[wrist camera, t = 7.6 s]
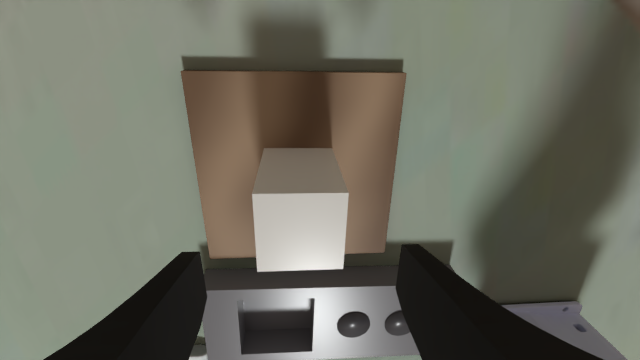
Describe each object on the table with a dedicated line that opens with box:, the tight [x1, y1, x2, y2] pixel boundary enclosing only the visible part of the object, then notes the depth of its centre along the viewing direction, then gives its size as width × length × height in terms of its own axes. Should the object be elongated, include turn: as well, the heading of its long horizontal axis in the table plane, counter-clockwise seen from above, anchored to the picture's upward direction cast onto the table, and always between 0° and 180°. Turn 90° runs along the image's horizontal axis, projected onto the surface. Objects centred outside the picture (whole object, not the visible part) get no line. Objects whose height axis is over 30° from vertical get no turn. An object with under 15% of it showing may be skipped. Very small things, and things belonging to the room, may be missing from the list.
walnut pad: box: [181, 70, 406, 259], centre depth 19 cm, size 12×12×1 cm
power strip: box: [202, 265, 455, 360], centre depth 23 cm, size 18×7×3 cm, turn 88°
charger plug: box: [252, 148, 349, 272], centre depth 17 cm, size 4×4×6 cm
